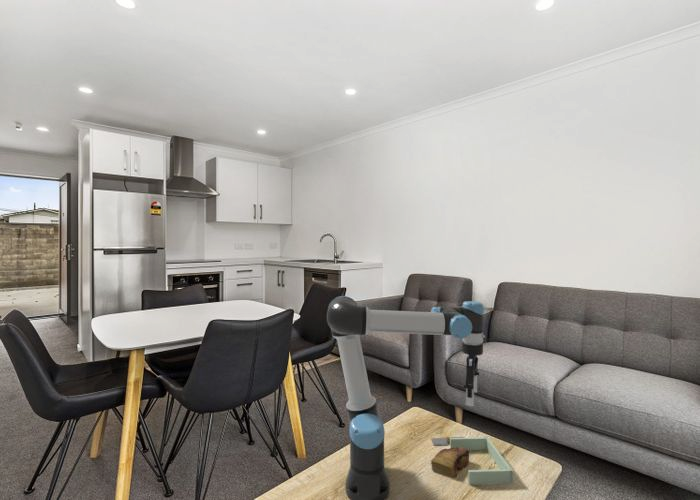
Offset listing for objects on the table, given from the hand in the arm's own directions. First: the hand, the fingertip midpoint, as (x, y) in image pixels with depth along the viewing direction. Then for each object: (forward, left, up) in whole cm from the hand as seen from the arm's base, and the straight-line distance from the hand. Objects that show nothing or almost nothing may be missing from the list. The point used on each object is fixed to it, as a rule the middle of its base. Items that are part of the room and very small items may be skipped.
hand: (471, 398), depth 137 cm
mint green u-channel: (+2, -1, -25) cm, 25 cm away
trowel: (-5, +15, -25) cm, 30 cm away
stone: (-9, -1, -26) cm, 27 cm away
